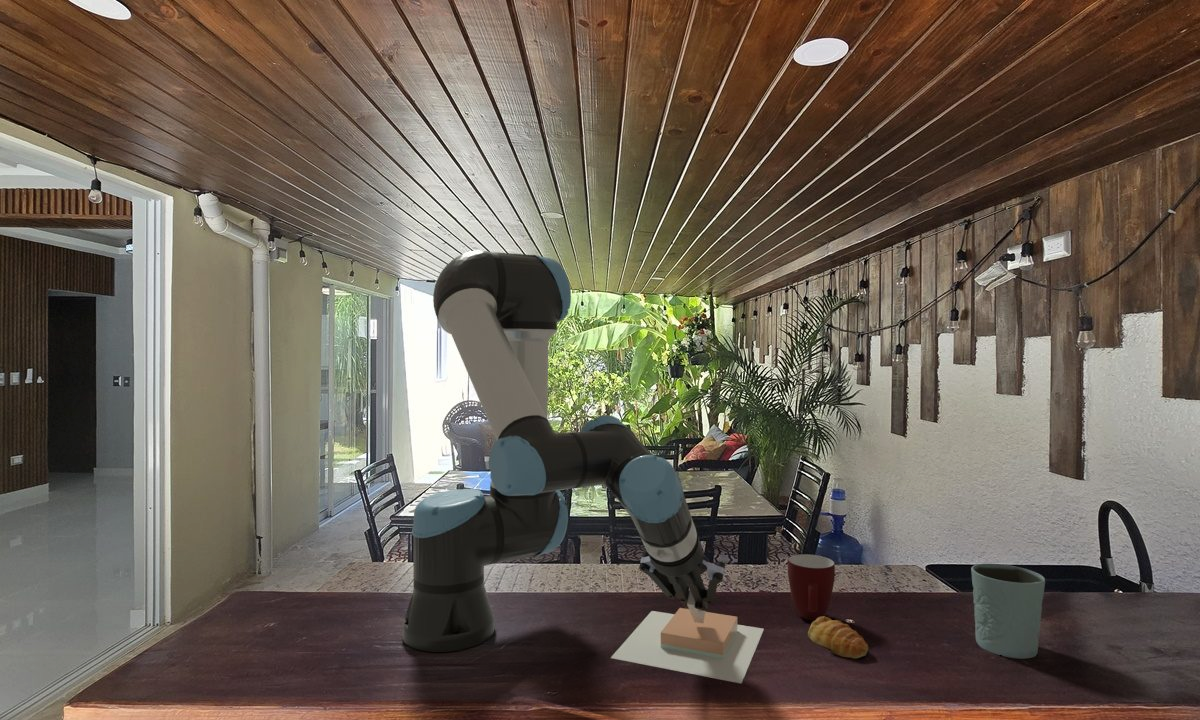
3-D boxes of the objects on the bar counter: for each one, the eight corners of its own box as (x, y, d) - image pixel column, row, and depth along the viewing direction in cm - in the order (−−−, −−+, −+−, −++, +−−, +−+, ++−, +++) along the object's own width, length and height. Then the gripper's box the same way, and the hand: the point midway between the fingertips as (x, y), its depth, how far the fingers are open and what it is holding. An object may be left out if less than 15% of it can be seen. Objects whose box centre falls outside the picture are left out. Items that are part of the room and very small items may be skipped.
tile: (660, 632, 105) (679, 607, 115) (660, 647, 105) (679, 621, 115) (723, 643, 101) (737, 616, 111) (723, 659, 101) (737, 631, 111)
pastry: (878, 655, 104) (878, 631, 104) (850, 665, 101) (850, 641, 101) (830, 633, 112) (830, 611, 112) (802, 642, 109) (802, 619, 109)
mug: (843, 632, 112) (843, 574, 112) (794, 630, 113) (794, 572, 113) (828, 608, 123) (829, 554, 122) (784, 606, 124) (784, 553, 123)
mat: (610, 661, 102) (610, 657, 102) (651, 614, 120) (651, 610, 120) (741, 687, 94) (741, 683, 94) (764, 632, 112) (764, 628, 112)
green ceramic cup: (963, 646, 107) (963, 572, 107) (979, 627, 114) (980, 558, 114) (1037, 667, 100) (1038, 588, 100) (1049, 645, 107) (1050, 571, 107)
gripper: (620, 558, 93) (657, 630, 108) (712, 570, 88) (736, 644, 103) (633, 512, 98) (666, 587, 113) (721, 521, 93) (743, 598, 108)
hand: (700, 614), depth 108 cm, fingers closed
